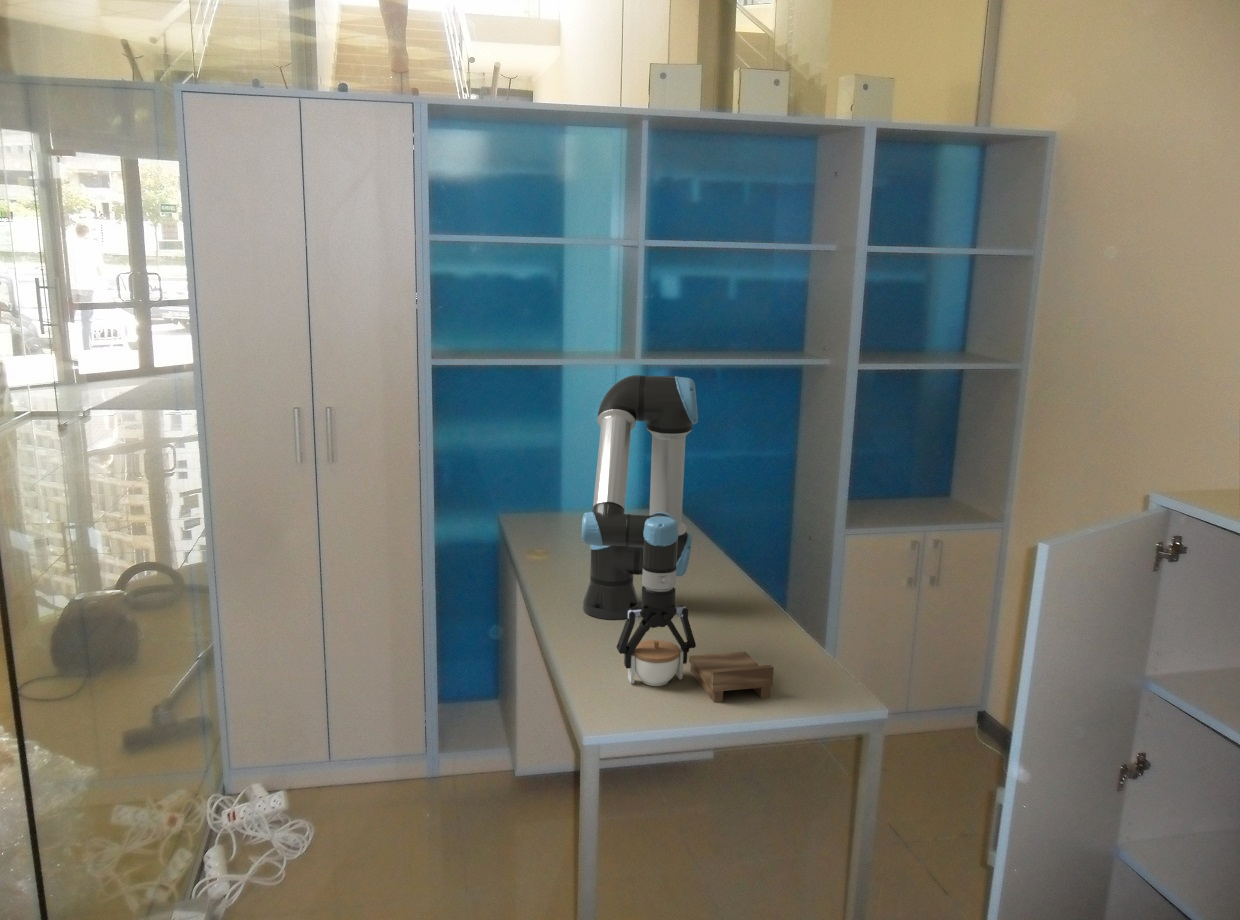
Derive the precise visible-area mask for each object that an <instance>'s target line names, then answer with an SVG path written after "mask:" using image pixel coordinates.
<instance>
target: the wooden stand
mask: <svg viewBox="0 0 1240 920" xmlns="http://www.w3.org/2000/svg"><path fill="white" fill-rule="evenodd" d="M688 663H689V664H690V669H689V670H690V672H689V673H691V675H692V676H693V677H694V678H695V680H696V681H697V682H698V683H699V685H700V686H701V688H702V689H703V690H704V692H705V693H706V694H707V695H708V696H709V698H710V699H711V701H712V702H713V703H721V702H723V701H724V699H723V698H724V692H726V691H738V690H749V689H752V690H754V692H755V693H756V694H757V695H758V696H759V698H761V699H765V698H770V696H771V687H773V683H774V681H773V680H774V668H775V667H774V666H773V665H772V664H763V665H759V664H758V662H756V661H755V659H753V657H751V655H750V654H749V653H748V652H747V651H746V650H745V651H733V652H732V651H731V652H717V653H709V654H708V653H706V654H695V655H689V656H688Z"/></svg>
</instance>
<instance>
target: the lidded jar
mask: <svg viewBox="0 0 1240 920" xmlns="http://www.w3.org/2000/svg"><path fill="white" fill-rule="evenodd" d="M679 648H680V646H678V645H677V644H675V643H673V642H671V641H667V640H662V639H647V640H645V639H644V640H641V641H640V642H639V644H638V646H637V647H636V649H635V650H634V652H633V654H634V655H635V675H636V676H637V677H638V678H639V680H641V682H642V683H643V684H645V685H647V686H650V687H663V686H666V685H667V684H668V683H669V682H670V681H671V680H672V679H673V678H674V677H675V676H676V671H677V668H678V664H679V655H680V649H679Z"/></svg>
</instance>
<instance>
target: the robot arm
mask: <svg viewBox="0 0 1240 920" xmlns="http://www.w3.org/2000/svg"><path fill="white" fill-rule="evenodd" d="M597 412H598V413H597V425H598V426H599V428H600V433H599V442H598V453H597V463H596V473H595V483H594V494H593V503H592V505H593V506H592V511H589V512H584V513H583V515H582V520H581V521H582V522H581V539H582V540H581V541H582V542H583V543H584V544H585V545H590V546H589V547H590V568H589V569H590V573H589V574H590V575H589V576H590V577H589V579H590V580H589V583H588V587H587V589H586V592H585V595H584V598H583V601H582V602H583V603H582V611H583V612H584V613H585V612H586V613H585V614H587V615H588V614H589V616H590V615H591V616H590V617H593V618H597V619H601V620H602V619H604V620H624V619H625V623H624V626H623V628H622V631H621V634H620V636H619V639H618V642H617V645H616V650H617V651H618V653H619V654H620V655H624V656H623V657H624V659H623V665H624V667H625V668H626V669H627V680H628V682H629V683H630V684H635V675H636V672H635V655H634V654H633V652H634V650H635V649H636V647H637V646H638V644H639V642H641V641H642V640H643V638H644V636H645V635H646V633H647V632H649V631H650V629H654V628H655V629H656V628H659V627H660V628H665V627H666V626H667V627H668V630H669V631H670V632H671V634H672V636H673V637H674V639H675V640H676V641H677V643H678V645H679V649H680V655H679V664H678V668H677V671H676V673H675V676H676V677H677V679H678V680H683V675H684V674H683V671H684V664H685V665H686V664H687V662H688V653H689V652H690V649H695V648H696V646H697V644H696V642H695V641H696V640H695V637H694V635H693V630H692V628H691V624H690V621H689V609H688V608H687V607H686V606H685V605H680V606H677V607H676V588H675V587H676V585H677V584H676V583H677V577H682V576H684V575H685V574H686V573H687V570H688V566H689V562H690V555H691V549H692V543H693V535H692V534H691V533H689V532H688V528H687V525H686V524H684V523H683V520H682V519H683V498H684V483H685V482H684V479H685V460H686V459H685V458H686V457H685V456H686V437H687V435H688V434H690V433H691V432H692V430H693V425H695V424H698V422H699V416H698V404H697V393H696V383H695V380H693V379H692V378H690V377H684V376H677V375H675V376H673V375H640V374H633V375H629V376H626V377H624V378H622V379H621V380H618V381H617V382H616V383H615V384H614V385H612V386H611V387H610V389H609V390H608V391H607V392H606V394H605V395H604V396H603V399H602V400H601V402H600V405H599V408H598V411H597ZM637 422H644V423H646V430H647V431H648V432H649V433H650V434H651V458H650V459H651V462H650V464H651V465H650V484H649V485H650V490H649V491H650V492H649V493H650V494H649V514H632V513H631V514H630V513H628V514H626V513H625V512H626V499H627V498H626V497H627V488H628V487H627V484H628V474H629V473H628V471H629V461H630V460H629V459H630V446H631V435H632V431H633V429H634V428H635V427H636V423H637ZM635 575H636V576H641V577H642V578H641V584H642V587H641V602H640V601H639V598H638V594H637V592H636V588H635V585H634V576H635ZM676 614H677V615H678V616H679V619H680V621H681V625H682V628H683V633H684V636H685V638H686V641H685V640H684V639H683V637H682V635H681V634H680V633H679V631H678V630H677V627H676V626H675V624H674V622H673V621H672V619H673V618H674V617H675V615H676ZM639 616H641V618H642V619H641V621H640V622H639V625H638V627H637V628H636V630H635V631H634V633H632V632H633V629H634V626H635V622H636V621H637V620H638V618H639ZM631 635H632V636H631Z"/></svg>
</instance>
